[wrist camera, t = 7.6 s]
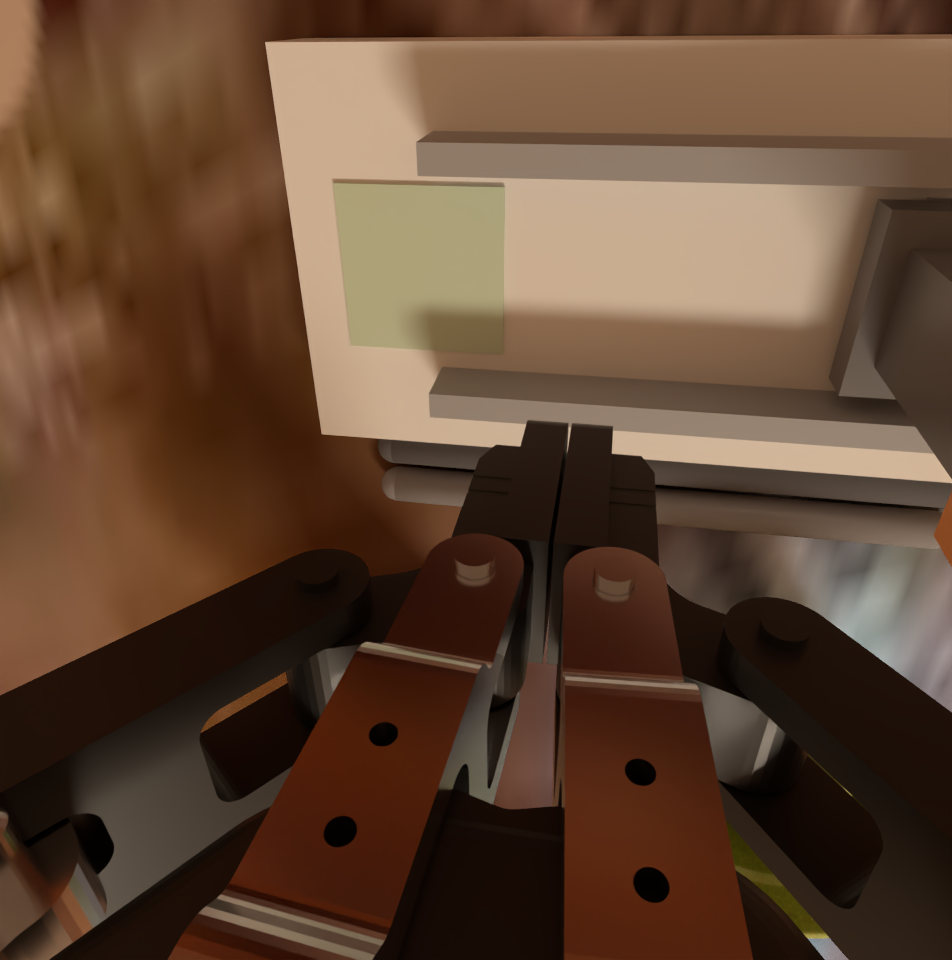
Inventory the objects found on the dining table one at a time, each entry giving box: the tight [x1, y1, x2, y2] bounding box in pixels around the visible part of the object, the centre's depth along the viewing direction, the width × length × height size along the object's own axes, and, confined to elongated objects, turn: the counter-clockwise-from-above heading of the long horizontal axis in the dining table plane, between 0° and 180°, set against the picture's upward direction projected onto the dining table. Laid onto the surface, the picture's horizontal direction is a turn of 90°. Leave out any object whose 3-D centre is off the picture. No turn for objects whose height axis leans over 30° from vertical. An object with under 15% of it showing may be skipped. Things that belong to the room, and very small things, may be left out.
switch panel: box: [265, 34, 952, 483], centre depth 21 cm, size 24×12×5 cm, turn 91°
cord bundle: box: [378, 439, 952, 549], centre depth 27 cm, size 21×3×1 cm, turn 91°
